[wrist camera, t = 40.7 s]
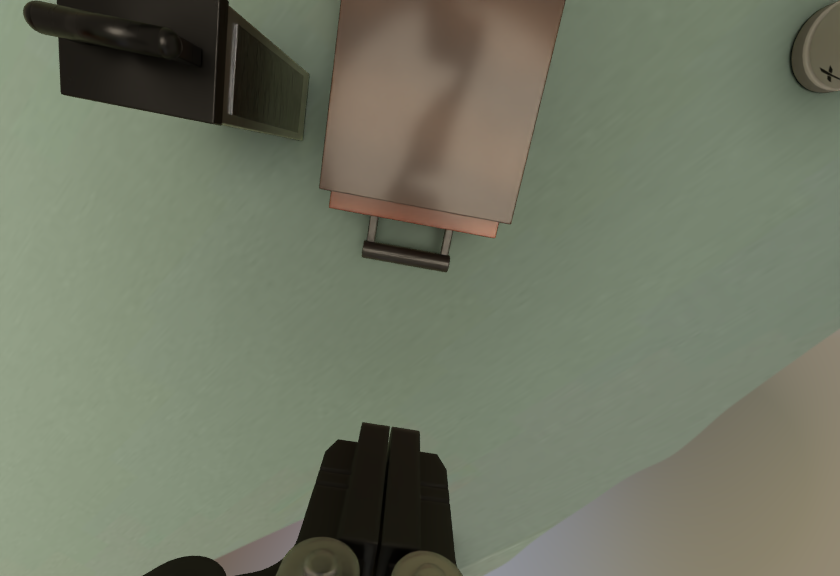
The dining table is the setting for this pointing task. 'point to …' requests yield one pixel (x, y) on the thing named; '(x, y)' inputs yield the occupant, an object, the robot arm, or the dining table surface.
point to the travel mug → (819, 51)
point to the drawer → (412, 216)
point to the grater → (175, 61)
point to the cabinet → (437, 101)
